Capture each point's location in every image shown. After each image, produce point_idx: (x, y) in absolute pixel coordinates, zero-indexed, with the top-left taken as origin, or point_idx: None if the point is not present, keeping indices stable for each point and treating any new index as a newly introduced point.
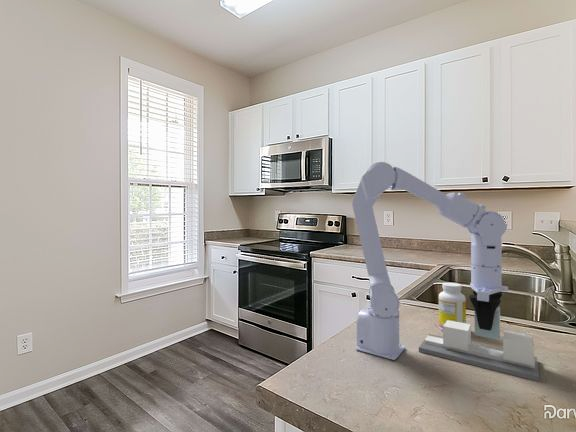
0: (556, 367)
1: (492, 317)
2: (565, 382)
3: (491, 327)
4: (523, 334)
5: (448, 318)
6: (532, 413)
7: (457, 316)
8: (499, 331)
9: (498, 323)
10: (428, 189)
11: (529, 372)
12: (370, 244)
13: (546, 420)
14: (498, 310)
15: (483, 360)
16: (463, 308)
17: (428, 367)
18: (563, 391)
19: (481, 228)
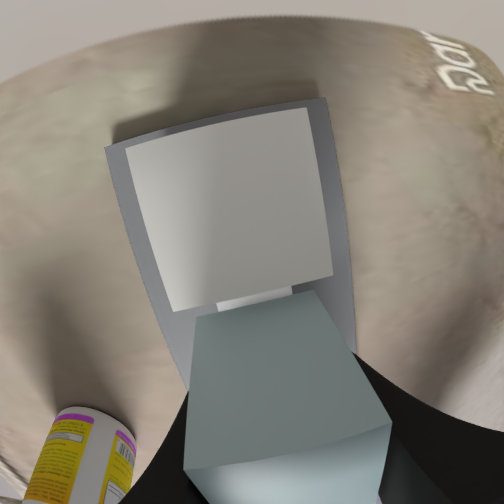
0: (115, 80)
1: (413, 401)
2: (245, 31)
3: (360, 360)
4: (152, 200)
5: (127, 478)
6: (495, 115)
7: (103, 471)
8: (285, 320)
9: (348, 353)
10: None
11: (314, 130)
12: None
13: (498, 90)
14: (339, 444)
15: (327, 290)
16: (66, 483)
17: (429, 365)
18: (331, 34)
19: None
